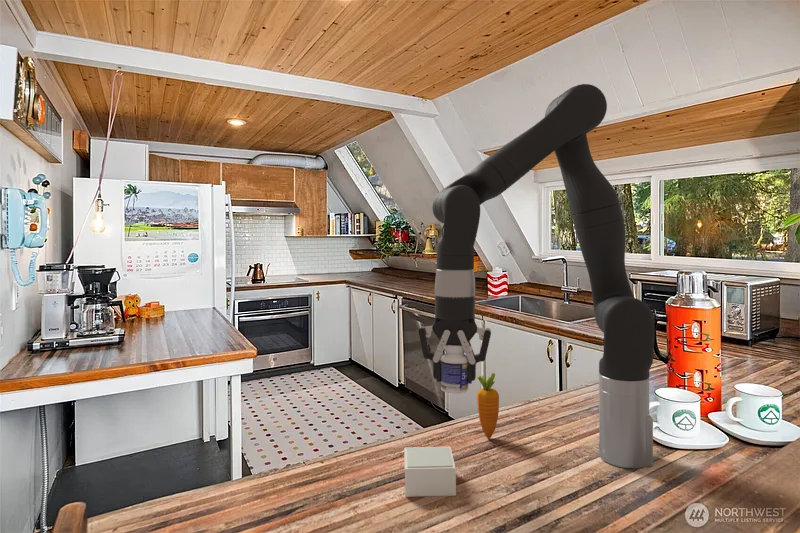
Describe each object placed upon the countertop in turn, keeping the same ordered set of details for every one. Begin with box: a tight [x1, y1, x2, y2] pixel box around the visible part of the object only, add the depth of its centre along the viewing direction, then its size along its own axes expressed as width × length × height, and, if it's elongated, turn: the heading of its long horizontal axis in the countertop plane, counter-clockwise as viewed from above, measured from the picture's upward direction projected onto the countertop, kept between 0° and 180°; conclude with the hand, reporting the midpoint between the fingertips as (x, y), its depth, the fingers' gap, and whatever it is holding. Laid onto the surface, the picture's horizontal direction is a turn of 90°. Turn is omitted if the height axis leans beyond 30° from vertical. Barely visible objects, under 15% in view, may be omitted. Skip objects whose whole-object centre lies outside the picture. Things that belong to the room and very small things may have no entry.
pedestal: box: [403, 446, 457, 498], centre depth 90 cm, size 9×9×5 cm
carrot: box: [476, 372, 500, 440], centre depth 110 cm, size 5×5×15 cm
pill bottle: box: [440, 345, 469, 395], centre depth 92 cm, size 5×5×9 cm
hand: (454, 381), depth 93 cm, fingers closed on pill bottle, 5 cm apart
